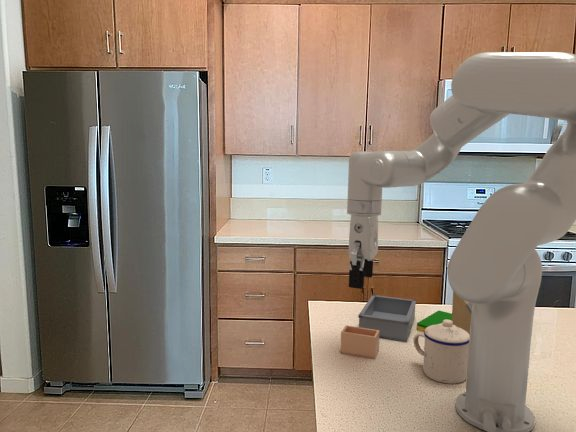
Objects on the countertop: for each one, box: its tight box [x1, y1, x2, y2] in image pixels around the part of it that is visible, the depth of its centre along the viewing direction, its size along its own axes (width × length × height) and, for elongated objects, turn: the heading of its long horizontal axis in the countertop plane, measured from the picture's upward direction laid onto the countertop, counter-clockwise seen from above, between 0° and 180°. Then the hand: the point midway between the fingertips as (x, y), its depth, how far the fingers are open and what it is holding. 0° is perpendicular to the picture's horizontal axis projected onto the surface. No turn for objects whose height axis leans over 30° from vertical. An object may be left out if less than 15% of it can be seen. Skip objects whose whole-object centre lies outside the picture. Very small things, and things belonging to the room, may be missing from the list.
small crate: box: [339, 325, 380, 360], centre depth 103 cm, size 4×8×5 cm, turn 68°
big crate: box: [357, 294, 417, 343], centre depth 119 cm, size 18×12×5 cm
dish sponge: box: [415, 310, 452, 333], centre depth 119 cm, size 7×14×2 cm, turn 137°
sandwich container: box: [451, 290, 530, 360], centre depth 103 cm, size 9×15×15 cm, turn 36°
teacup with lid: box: [413, 319, 470, 385], centre depth 93 cm, size 12×9×12 cm
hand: (361, 281), depth 101 cm, fingers open, 9 cm apart
